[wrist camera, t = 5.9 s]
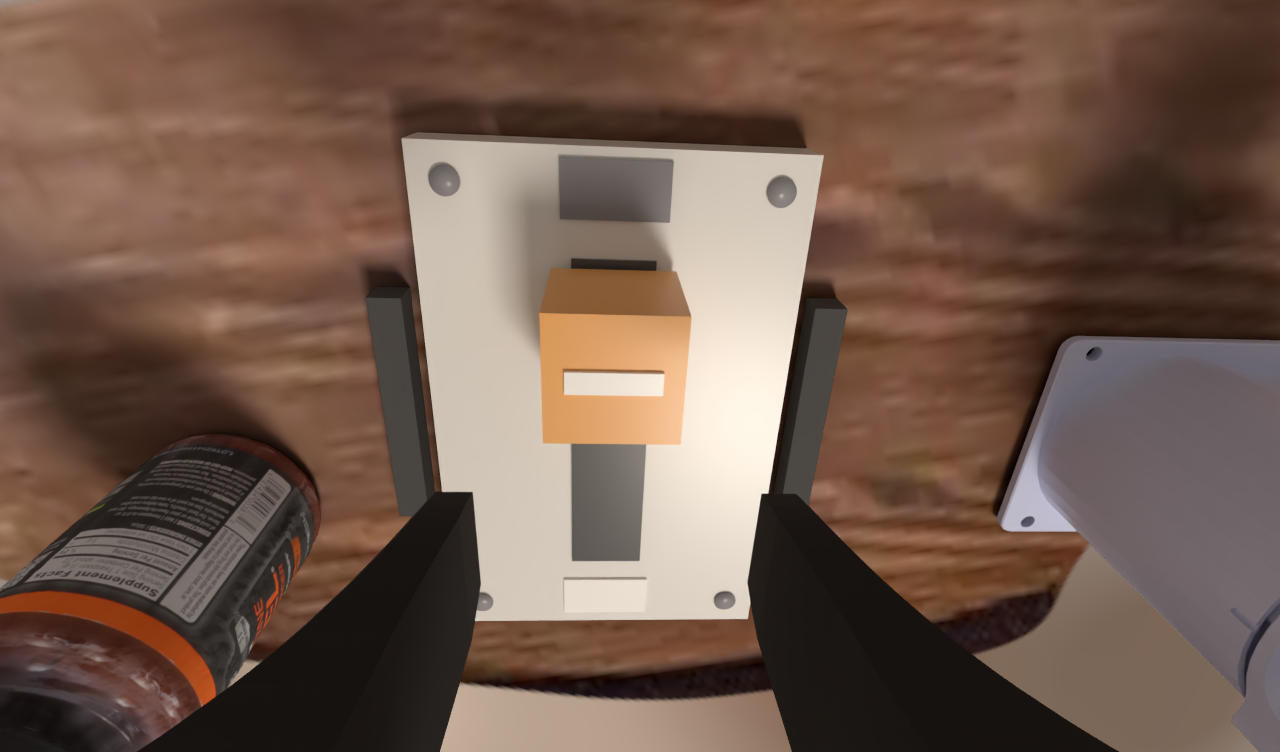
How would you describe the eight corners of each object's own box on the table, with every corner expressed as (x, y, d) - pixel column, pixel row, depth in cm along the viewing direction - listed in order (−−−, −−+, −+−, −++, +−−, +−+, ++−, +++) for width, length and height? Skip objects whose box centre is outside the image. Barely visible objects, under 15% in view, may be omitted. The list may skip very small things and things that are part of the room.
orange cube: (676, 271, 18) (692, 318, 15) (668, 382, 19) (681, 446, 16) (550, 268, 18) (538, 314, 14) (553, 380, 19) (542, 445, 16)
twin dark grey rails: (837, 298, 20) (847, 309, 19) (798, 500, 24) (805, 517, 23) (376, 286, 19) (365, 297, 19) (407, 498, 23) (399, 516, 22)
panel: (807, 148, 18) (825, 155, 17) (740, 589, 26) (747, 620, 24) (417, 132, 18) (400, 138, 16) (464, 591, 25) (456, 623, 24)
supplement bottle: (302, 581, 25) (90, 948, 14) (135, 527, 23) (-232, 895, 13) (350, 465, 22) (139, 803, 12) (169, 398, 21) (-244, 719, 11)
